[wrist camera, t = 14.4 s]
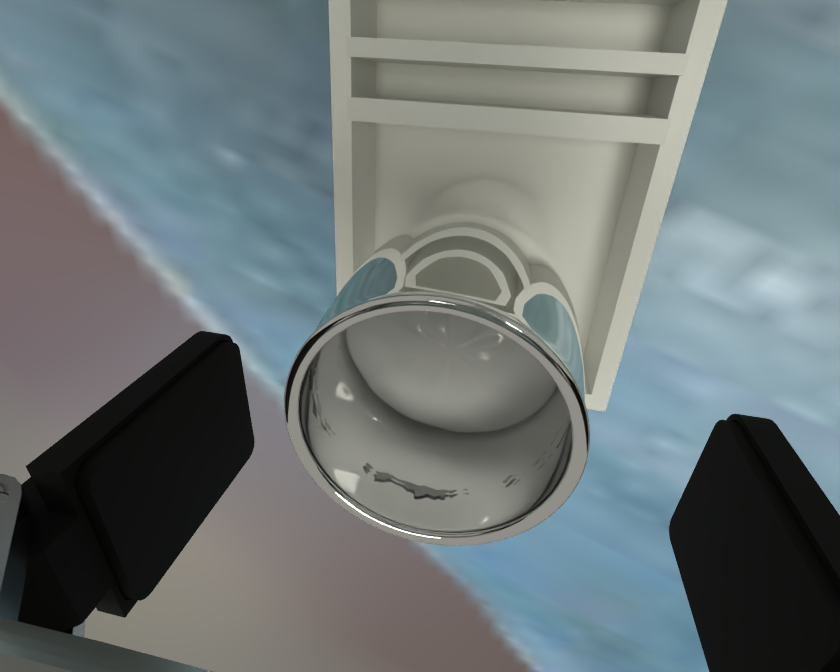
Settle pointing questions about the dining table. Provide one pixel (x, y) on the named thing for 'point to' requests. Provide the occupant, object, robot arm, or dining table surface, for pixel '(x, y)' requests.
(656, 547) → the dining table surface
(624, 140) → the rack
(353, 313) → the beer glass
